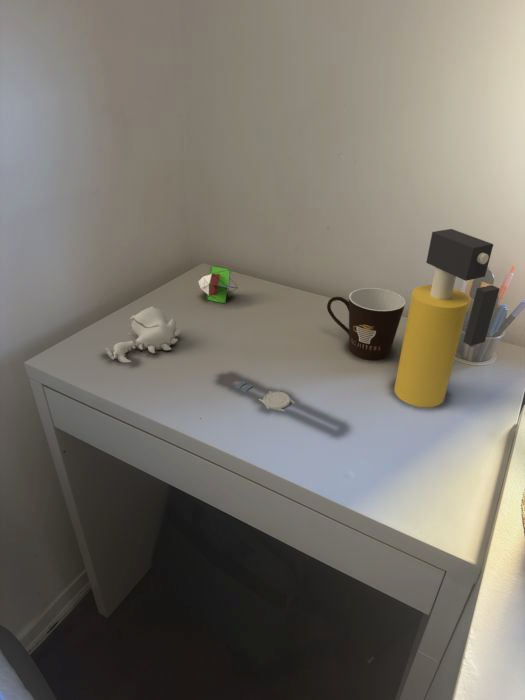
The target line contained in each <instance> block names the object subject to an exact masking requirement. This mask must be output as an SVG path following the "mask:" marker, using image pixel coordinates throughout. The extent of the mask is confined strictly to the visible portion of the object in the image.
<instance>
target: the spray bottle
mask: <svg viewBox="0 0 525 700" xmlns="http://www.w3.org/2000/svg"><path fill="white" fill-rule="evenodd" d="M493 247H494V243H492V242H489V241H486V240H483V239H480V238H478V237H475V236H472V235H469V234H466V233H464V232H461V231H459V230H456V229H453V228H447V229H442V230H435V231H431V236H430V242H429V246H428V252H427V256H426V264H428V265H430V266H433V267H434V268H435V269H434V273H433V277H432V278H433V279H432V283H431V284H428V285H421V286H417V287H415V288H413V290H412V293H411V298H410V304H409V308H408V314H407V319H406V325H405V329H404V330H405V331H404V335H403V340H402V346H401V351H400V356H399V361H398V368H397V372H396V377H395V383H394V389H393V390H394V394H395V395H396V397H398V399H400V400H401V401H403V402H405V403H406V404H409V405H411V406H414V407H419V408H433V407H437V406H440V405H442V404H443V402H444V401H445V399H446V394H447V391H448V385H449V382H450V380H451V379H450V378H451V374H452V371H453V367H454V363H455V359H456V354H457V351H458V347H459V344H460V339H461V335H462V331H463V328H464V323H465V320H466V316H467V312H468V308H469V304H470V298H469V296H468V295H467V294H466V293H464V292H462V291H460V290H458V289H456V288H454V287H455V283H456V278H458V279H460V280H463V281H465V282H468V281H472V280H477V279H481V278H485V277H486V274H487V270H488V266H489V263H490V259H491V257H492V251H493Z"/></svg>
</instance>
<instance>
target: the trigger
mask: <svg viewBox="0 0 525 700" xmlns="http://www.w3.org/2000/svg"><path fill="white" fill-rule="evenodd" d="M500 290H501V288H500V287H497V286H495V285H493V284H489V285H486V286H482V287H477V288H476V290H475V295H474V299H473V302H472V306H471V311H470V314H469V318H468V322H467V325H466V330H465V333H464V337H463V341H462V342H463V343H464V344H467V345H468V346H470V347H473V346H476V345H480V344H482V343H485V342H486V338H487V335H488V332H489V328H490V324H491V320H492V318H493V314H494V310H495V306H496V304H497V301H498V300H497V299H498V296H499V292H500Z"/></svg>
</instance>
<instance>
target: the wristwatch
mask: <svg viewBox="0 0 525 700" xmlns="http://www.w3.org/2000/svg"><path fill="white" fill-rule="evenodd" d="M246 384H247V382H246V381H244V380H242V381H240V382H239V383H237V384H236V385H235V386H234V388H236V389H238V390H239V389H241V388H242V387H243V386H244V385H245V386H244V387H243V388H242V389H241V391H242V392H245V393H246V392H247V391H248V390H249V389H251V388H253V387H254V385H253V384H251V383H248V384H247V385H246ZM258 400H259V401H260V402H261V403H262V404H263V405H264V406H265V408H266V409H267V410H275V411H280V412H281V411H282V412H285V409H284V408H287V407H288V406H289V405H290V403H292V404H295V403H296V402H295V401H294V400H293V399H292V398H291V396H289V395H288V394H287V392H283V391H277V390H276V391H268V393H266V394H265V395H264V396H263V399H261V398H258Z"/></svg>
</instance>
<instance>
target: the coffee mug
mask: <svg viewBox="0 0 525 700" xmlns="http://www.w3.org/2000/svg"><path fill="white" fill-rule="evenodd" d="M336 301H338V302H342V303H343V304H344V305H345V307H346V308H347V310H348V327H347V326H346V325H345V324H344V323H343V322H341V320H339V319H338V318H337V317H336V316H335V314H334V312H333V310H332V307H331V306H332V303H333V302H336ZM405 306H406V300H405V298H404V296H402V295H400V294H399V293H397V292H395V291H392V290H389V289H385V288H378V287H362V288H358V289H355V290H352V291H351V292H350V293H349V295H348V300H347V299H346V298H344V297H343V296H333V297H331V298H330V299H329V300H328V302H327V303H326V309H327V312H328V314H329V316H330V317H331V318H332V320H333V321H334V322H335V323H336V325H338V326H339V327H340V328H341V329H342V330H343V331H344V332H345V333H347V335H348V350H349V352H350V353H351V355H353V356H354V357H356V358H358V359H361V360H365V361H370V362H371V361H373V362H374V361H381V360H385V359H386V358H388V357H389V356H390V353H391V351H392V347H393V344H394V341H395V337H396V335H397V332H398V329H399V325H400V322H401V318H402V315H403V312H404V308H405Z"/></svg>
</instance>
